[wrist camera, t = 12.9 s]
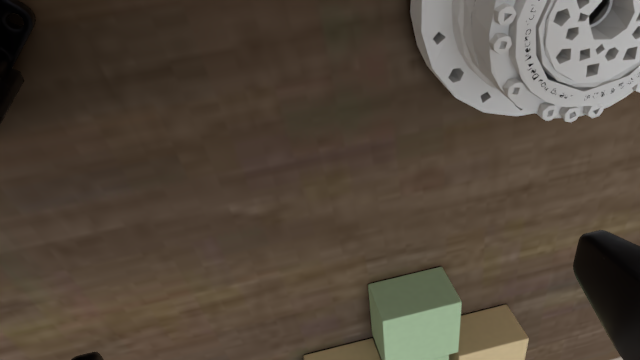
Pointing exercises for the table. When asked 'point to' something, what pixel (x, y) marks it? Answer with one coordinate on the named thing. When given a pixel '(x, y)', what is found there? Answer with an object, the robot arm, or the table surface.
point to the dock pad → (474, 340)
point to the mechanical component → (532, 53)
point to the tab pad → (415, 316)
